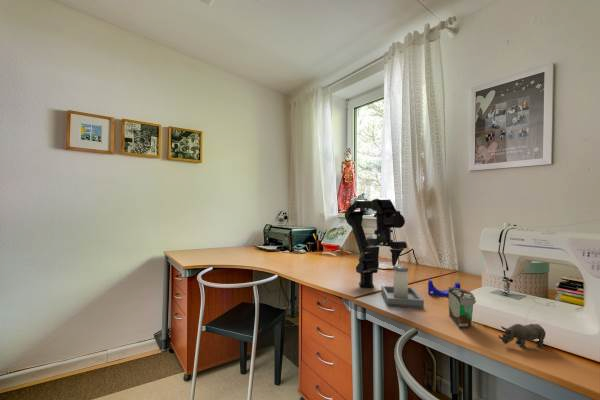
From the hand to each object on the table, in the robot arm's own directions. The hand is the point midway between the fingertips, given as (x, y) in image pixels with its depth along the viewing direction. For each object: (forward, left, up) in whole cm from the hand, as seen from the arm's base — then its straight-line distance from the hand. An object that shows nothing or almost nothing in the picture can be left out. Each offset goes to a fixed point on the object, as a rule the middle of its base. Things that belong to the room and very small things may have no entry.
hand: (384, 264), depth 119 cm
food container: (+24, +22, -13) cm, 35 cm away
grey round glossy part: (+5, +6, -12) cm, 14 cm away
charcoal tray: (+5, +6, -13) cm, 15 cm away
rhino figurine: (+36, +31, -13) cm, 50 cm away
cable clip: (-5, +25, -13) cm, 29 cm away
